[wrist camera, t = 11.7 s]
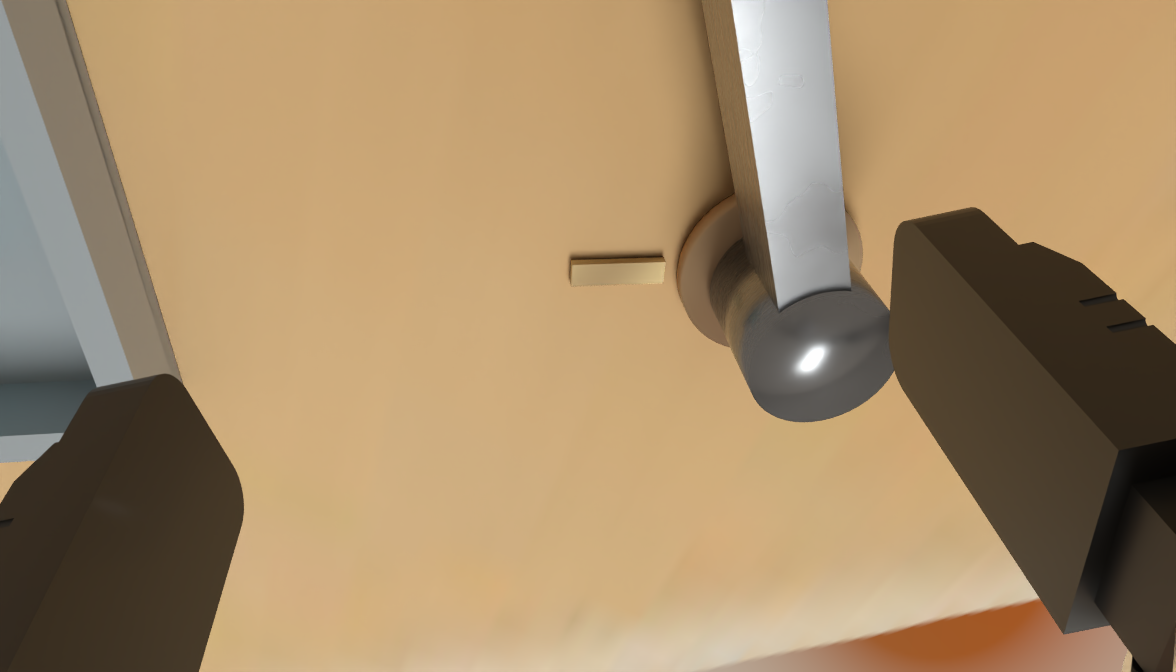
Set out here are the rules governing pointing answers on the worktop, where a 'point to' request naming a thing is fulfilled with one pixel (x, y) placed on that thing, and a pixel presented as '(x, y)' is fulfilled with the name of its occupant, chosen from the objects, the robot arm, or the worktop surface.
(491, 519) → the worktop surface
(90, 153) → the tray
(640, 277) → the crank base
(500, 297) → the worktop surface
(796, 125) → the crank
